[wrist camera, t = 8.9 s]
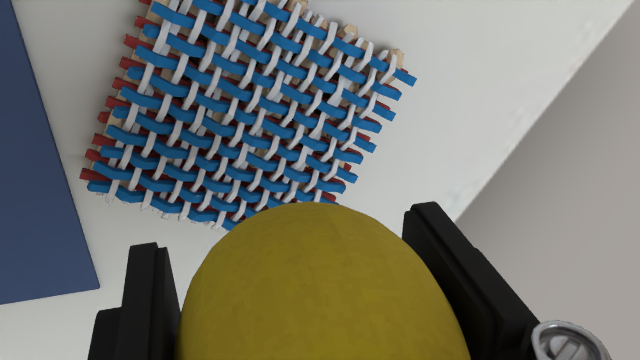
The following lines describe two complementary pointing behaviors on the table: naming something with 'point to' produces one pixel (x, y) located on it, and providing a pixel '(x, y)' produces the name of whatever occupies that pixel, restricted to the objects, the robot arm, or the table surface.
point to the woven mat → (238, 110)
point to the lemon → (315, 293)
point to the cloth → (33, 188)
